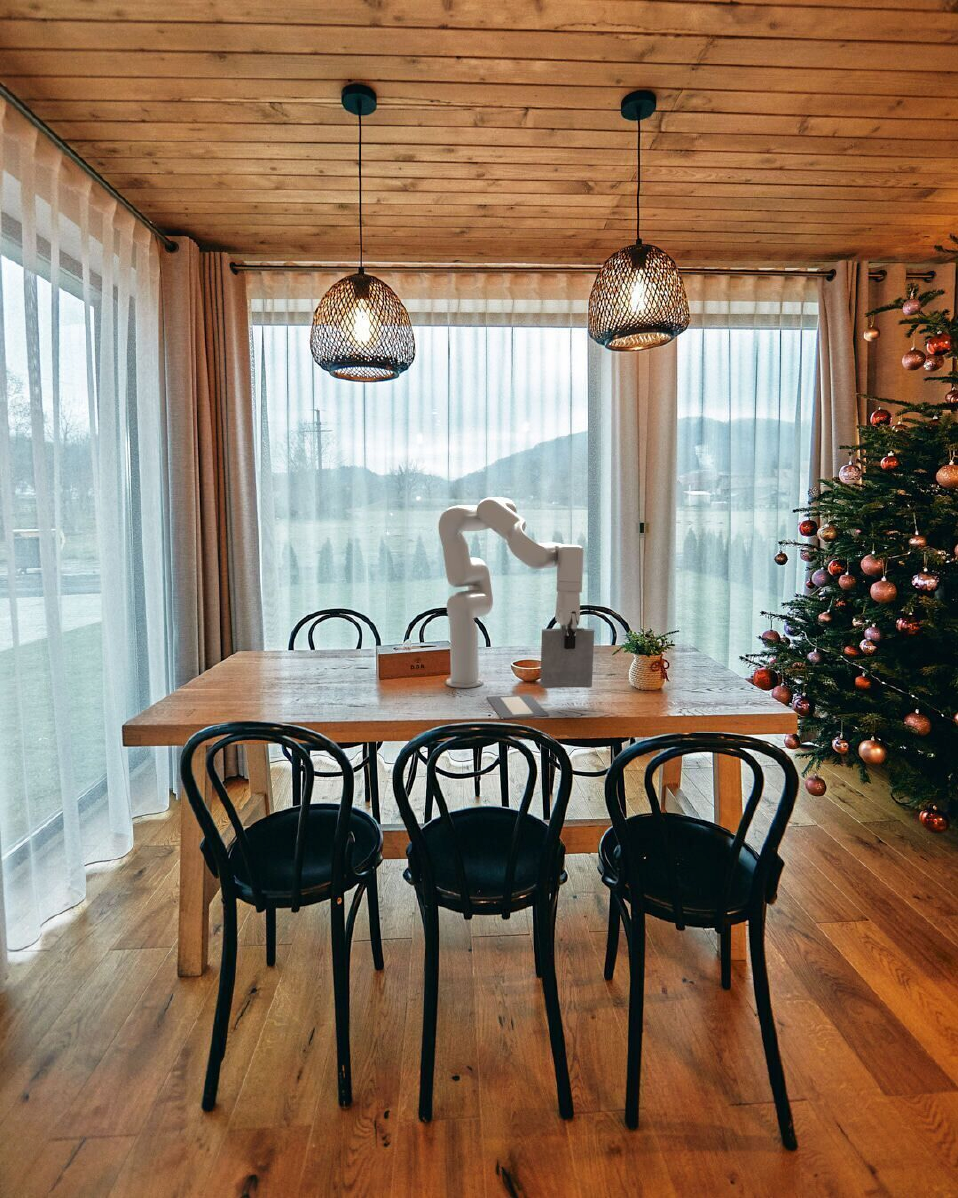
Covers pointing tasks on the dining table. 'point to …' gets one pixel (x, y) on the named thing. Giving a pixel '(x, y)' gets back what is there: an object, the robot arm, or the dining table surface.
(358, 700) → the dining table surface
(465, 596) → the robot arm
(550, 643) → the hip flask
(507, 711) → the mat
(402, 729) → the dining table surface
